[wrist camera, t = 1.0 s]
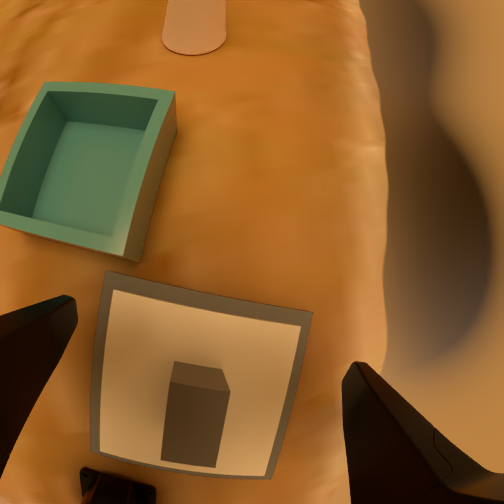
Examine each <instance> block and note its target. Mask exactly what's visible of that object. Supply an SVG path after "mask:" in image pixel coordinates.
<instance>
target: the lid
mask: <svg viewBox="0 0 504 504" xmlns="http://www.w3.org/2000/svg"><path fill="white" fill-rule="evenodd" d="M300 329H301V326H298V325H294V324H287V323H281V322H274V321H268V320H262V319H256V318H250V317H244V316H239V315H233V314H228V313H222V312H217V311H212V310H207V309H202V308H197V307H192V306H187V305H182V304H178V303H173V302H169V301H164V300H160V299H155V298H151V297H147V296H142V295H138V294H134V293H130V292H126V291H122V290H118V289H114V290H113V295H112V301H111V307H110V314H109V320H108V327H107V335H106V343H105V352H104V361H103V372H102V385H101V403H100V451H101V452H105V453H108V454H111V455H115V456H118V457H122V458H126V459H130V460H134V461H138V462H143V463H147V464H152V465H157V466H162V467H168V468H174V469H180V470H187V471H194V472H203V473H212V474H224V475H241V476H264V475H265V472H266V469H267V465H268V462H269V458H270V455H271V451H272V447H273V444H274V440H275V436H276V433H277V429H278V425H279V421H280V417H281V413H282V409H283V405H284V401H285V397H286V393H287V389H288V384H289V380H290V376H291V371H292V367H293V362H294V358H295V353H296V348H297V343H298V338H299V334H300Z"/></svg>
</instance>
